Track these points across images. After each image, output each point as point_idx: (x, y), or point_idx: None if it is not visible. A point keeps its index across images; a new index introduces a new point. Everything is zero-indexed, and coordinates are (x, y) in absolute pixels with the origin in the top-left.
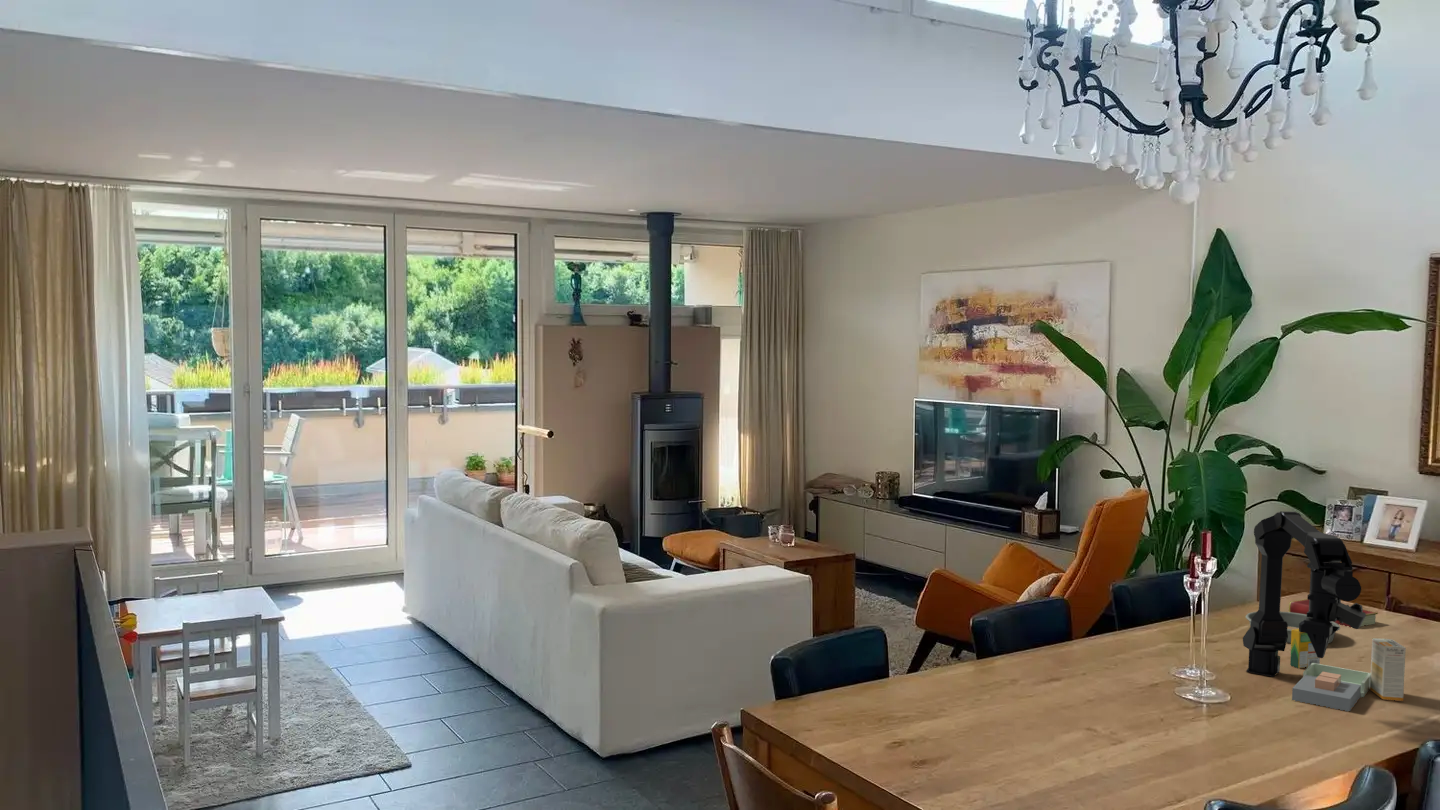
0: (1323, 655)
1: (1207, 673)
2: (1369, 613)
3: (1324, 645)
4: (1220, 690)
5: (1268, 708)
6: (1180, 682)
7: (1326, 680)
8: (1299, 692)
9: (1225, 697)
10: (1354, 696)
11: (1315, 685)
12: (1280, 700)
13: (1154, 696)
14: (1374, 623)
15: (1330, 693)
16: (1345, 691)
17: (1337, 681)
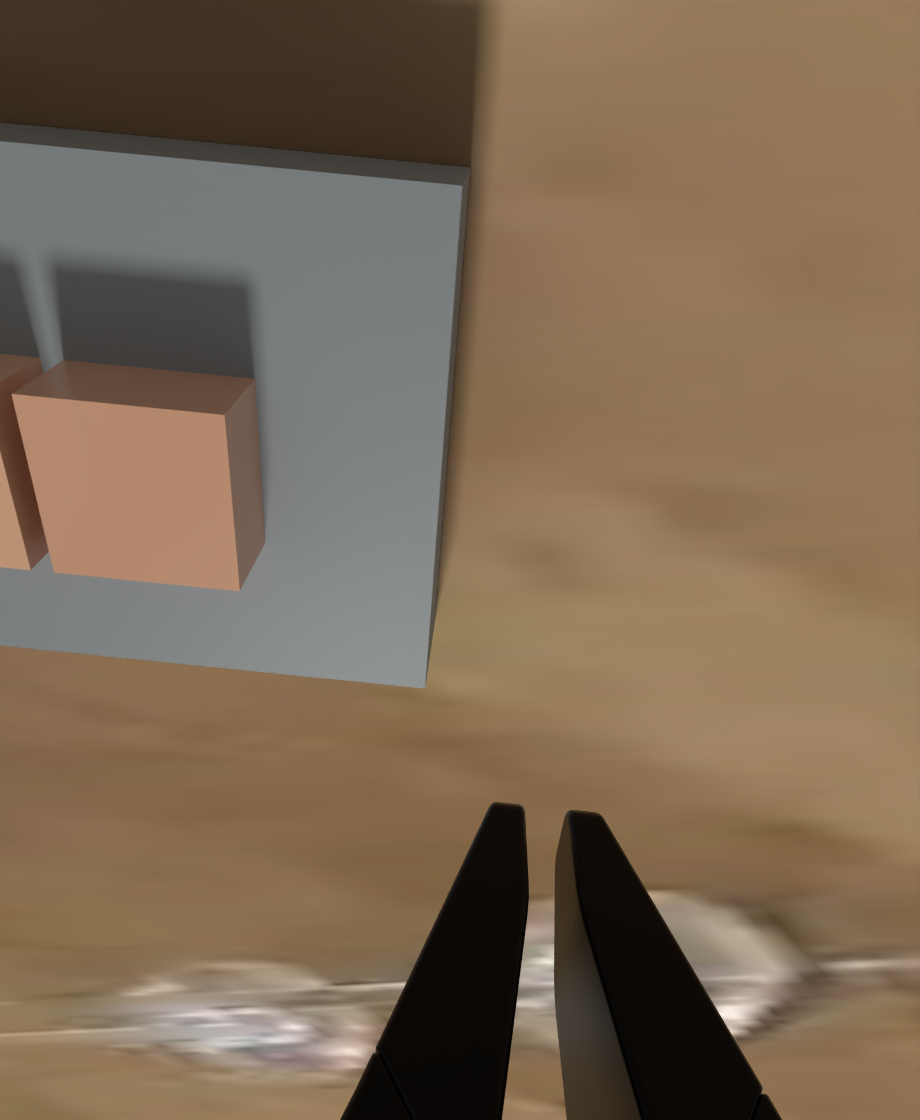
0: (603, 848)
1: (197, 987)
2: None
3: (765, 1110)
4: None
5: (750, 723)
6: None
7: (189, 495)
8: (431, 624)
9: None
10: (155, 150)
11: (257, 551)
12: (488, 678)
13: (808, 1099)
14: None
15: (372, 401)
16: (160, 263)
17: (5, 381)
